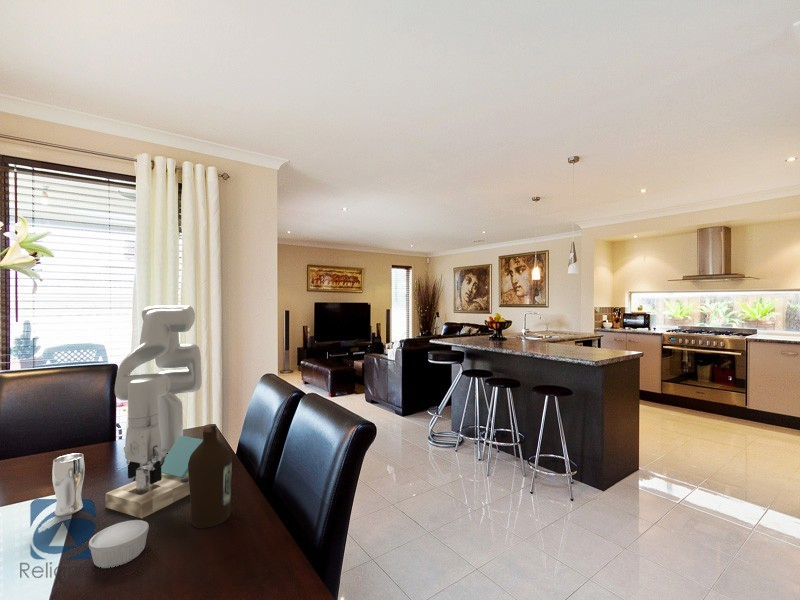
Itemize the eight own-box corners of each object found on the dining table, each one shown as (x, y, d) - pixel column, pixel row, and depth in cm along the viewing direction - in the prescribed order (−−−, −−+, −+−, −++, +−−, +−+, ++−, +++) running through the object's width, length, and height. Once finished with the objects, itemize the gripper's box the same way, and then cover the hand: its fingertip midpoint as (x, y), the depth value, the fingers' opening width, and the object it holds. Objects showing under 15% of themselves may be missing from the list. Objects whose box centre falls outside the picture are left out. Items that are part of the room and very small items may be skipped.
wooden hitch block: (105, 507, 111) (105, 489, 111) (176, 475, 131) (176, 460, 131) (142, 518, 104) (142, 499, 105) (211, 483, 125) (210, 467, 125)
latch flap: (157, 472, 123) (155, 470, 122) (181, 436, 131) (179, 435, 130) (183, 478, 118) (181, 476, 118) (207, 441, 126) (205, 439, 126)
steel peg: (133, 504, 112) (132, 470, 112) (146, 498, 116) (146, 464, 116) (142, 507, 111) (141, 472, 111) (155, 500, 114) (155, 466, 114)
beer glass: (91, 505, 112) (90, 454, 112) (64, 518, 105) (63, 463, 105) (73, 503, 114) (72, 452, 114) (46, 515, 107) (45, 461, 107)
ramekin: (86, 556, 89) (85, 533, 89) (143, 535, 97) (142, 514, 97) (92, 580, 81) (92, 554, 81) (154, 555, 89) (153, 532, 89)
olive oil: (183, 533, 97) (182, 433, 98) (194, 511, 108) (193, 421, 108) (229, 526, 100) (227, 429, 100) (235, 505, 110) (234, 418, 111)
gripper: (111, 421, 114) (112, 479, 114) (150, 428, 107) (151, 490, 107) (137, 414, 120) (138, 469, 120) (175, 420, 114) (176, 478, 114)
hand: (144, 479), depth 114 cm, fingers open, 9 cm apart
